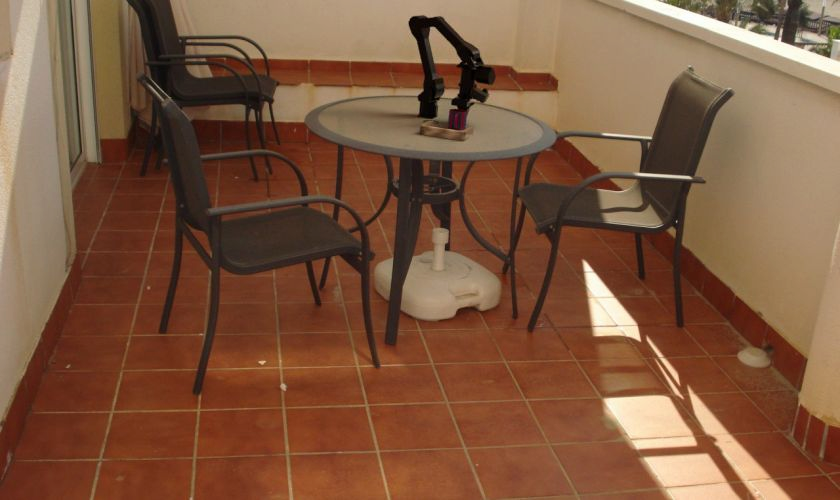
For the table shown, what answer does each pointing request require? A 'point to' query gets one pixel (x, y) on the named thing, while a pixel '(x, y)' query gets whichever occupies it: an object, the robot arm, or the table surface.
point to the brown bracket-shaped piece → (445, 132)
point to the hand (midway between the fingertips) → (463, 121)
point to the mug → (457, 119)
